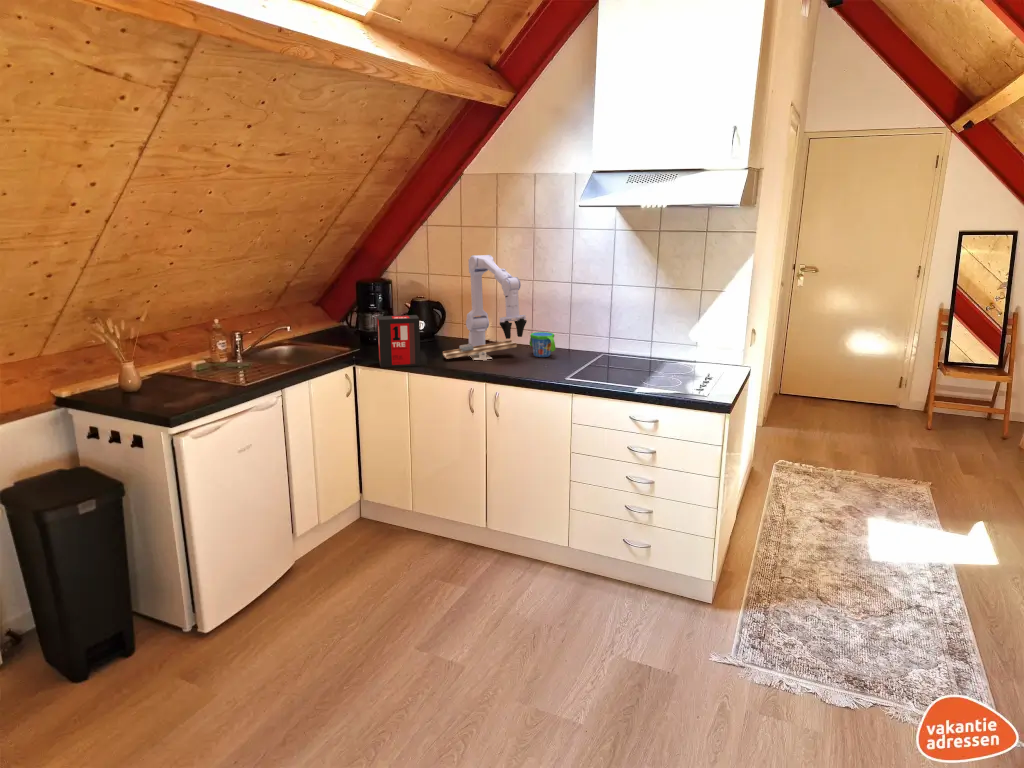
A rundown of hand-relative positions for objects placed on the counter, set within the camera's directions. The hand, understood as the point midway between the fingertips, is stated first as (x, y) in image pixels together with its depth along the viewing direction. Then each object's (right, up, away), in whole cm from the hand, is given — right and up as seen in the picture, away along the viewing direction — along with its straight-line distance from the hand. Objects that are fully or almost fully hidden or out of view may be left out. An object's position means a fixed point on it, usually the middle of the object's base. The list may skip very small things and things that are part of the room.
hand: (514, 337), depth 287 cm
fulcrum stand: (-15, -8, +9) cm, 19 cm away
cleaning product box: (-49, -12, -4) cm, 50 cm away
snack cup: (+13, -8, +14) cm, 20 cm away
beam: (-15, -5, +8) cm, 18 cm away
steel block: (-21, -6, +6) cm, 22 cm away
